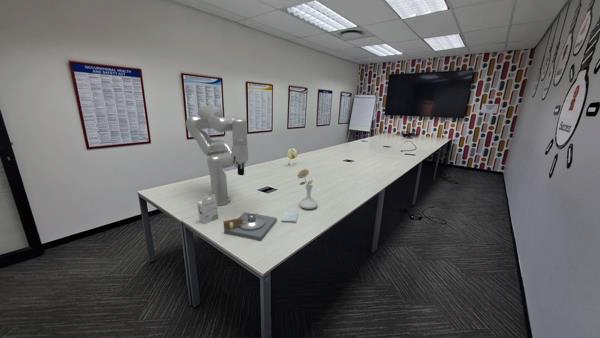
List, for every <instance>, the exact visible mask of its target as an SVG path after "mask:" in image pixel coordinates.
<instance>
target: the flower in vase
mask: <svg viewBox="0 0 600 338" xmlns="http://www.w3.org/2000/svg"><path fill="white" fill-rule="evenodd" d="M309 174H310V171H309V169H307V168H305V169H301V170H300V171H299V172H298V173H297V178H298V179H304V181H302V182H300V183H299V185H300V186H301V185H304V187H305V189H306V197H305V198H303V199H302V200H300V202H299V206H300V207H301V208H302V209H305V210H306V209H307V210H312V209H315V208H317V206H318V202H317V201H316V200H315V199H313V197H311V194H312V193H311V192H312V189H313V187H314V186H313V185H312V183H313V180H314V179H312V180H309V181H306V177H307V176H308V175H309Z"/></svg>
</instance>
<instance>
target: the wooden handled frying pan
mask: <svg viewBox="0 0 600 338" xmlns="http://www.w3.org/2000/svg"><path fill="white" fill-rule="evenodd" d="M261 215H262V214H258V215H257V213H252V214H249V215H246V216H243V217H241V218H238V217H237V218H233V219H229V220H224V221H223V223H222V224H223V231H224V230H228V229H230V222H233V228H237V227H239V228H241V229H243V230H256V229H259V228H261V227H263V226H264V225H265V218H264V217H263V216H261Z"/></svg>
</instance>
